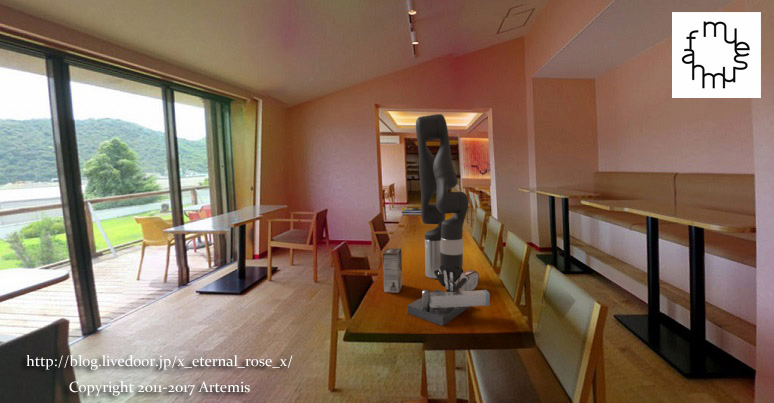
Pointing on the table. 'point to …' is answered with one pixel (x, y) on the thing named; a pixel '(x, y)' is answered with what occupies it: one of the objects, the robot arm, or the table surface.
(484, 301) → the swing bar
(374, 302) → the table surface
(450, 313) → the plate
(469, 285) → the tin
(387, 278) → the coffee box
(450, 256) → the robot arm
